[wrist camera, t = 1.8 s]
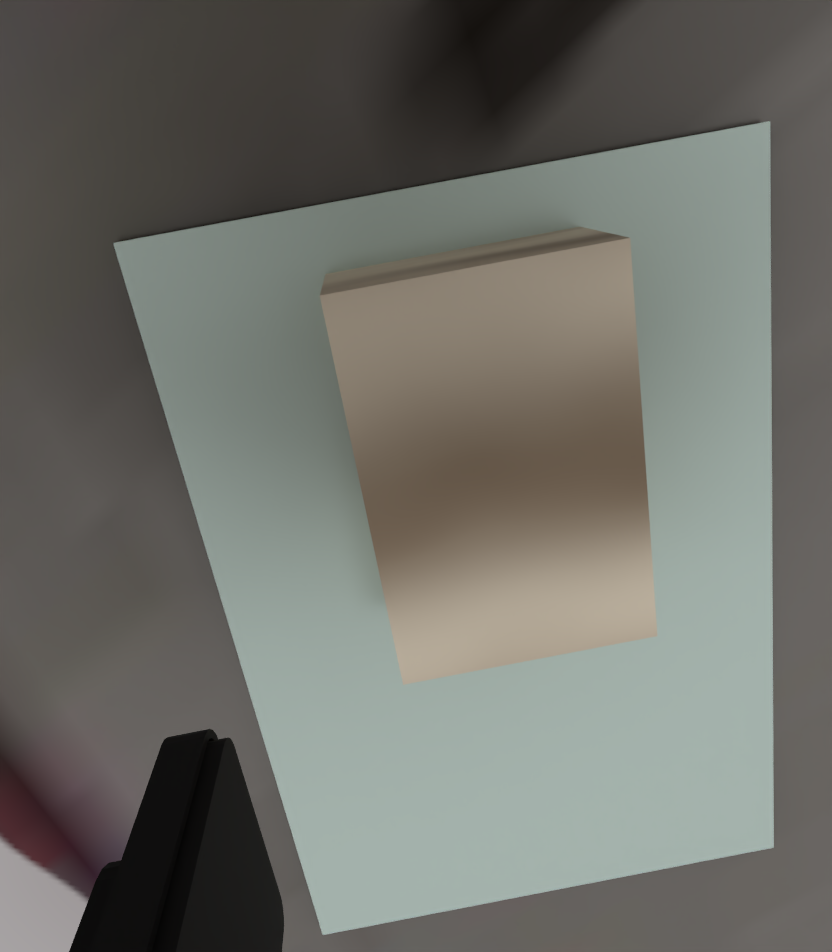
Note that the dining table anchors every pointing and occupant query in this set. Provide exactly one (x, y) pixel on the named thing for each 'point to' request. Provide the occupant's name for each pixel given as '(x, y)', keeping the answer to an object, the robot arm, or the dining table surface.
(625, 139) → the dining table surface
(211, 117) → the dining table surface
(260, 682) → the mat
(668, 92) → the dining table surface
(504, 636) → the card box
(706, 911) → the dining table surface
